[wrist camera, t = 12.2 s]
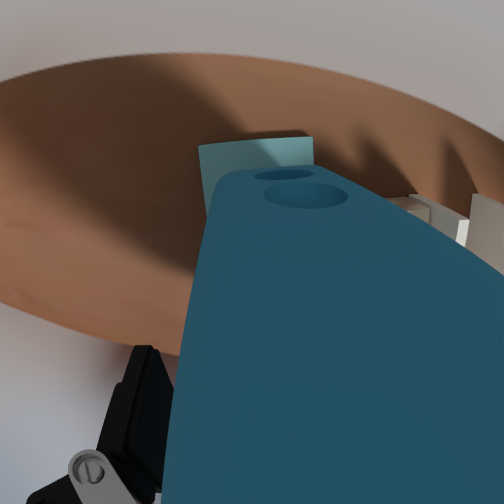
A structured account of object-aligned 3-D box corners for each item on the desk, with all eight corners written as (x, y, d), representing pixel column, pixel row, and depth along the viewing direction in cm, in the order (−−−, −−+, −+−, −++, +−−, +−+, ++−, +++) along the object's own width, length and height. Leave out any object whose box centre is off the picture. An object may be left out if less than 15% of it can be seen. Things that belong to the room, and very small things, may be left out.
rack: (478, 193, 20) (525, 215, 14) (457, 298, 24) (491, 332, 19) (322, 198, 19) (357, 228, 14) (318, 328, 24) (339, 380, 18)
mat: (310, 136, 17) (312, 136, 17) (311, 308, 23) (313, 312, 22) (198, 145, 17) (197, 145, 17) (223, 318, 22) (223, 323, 22)
